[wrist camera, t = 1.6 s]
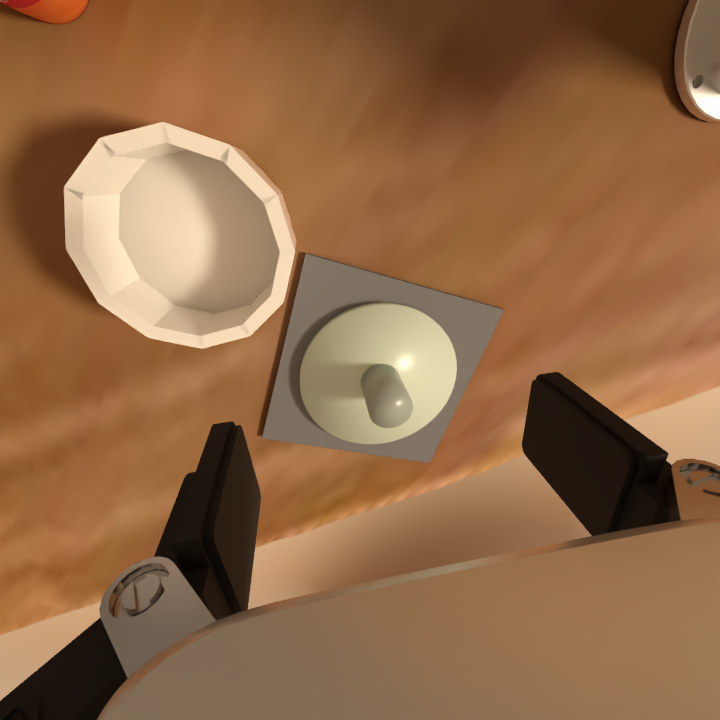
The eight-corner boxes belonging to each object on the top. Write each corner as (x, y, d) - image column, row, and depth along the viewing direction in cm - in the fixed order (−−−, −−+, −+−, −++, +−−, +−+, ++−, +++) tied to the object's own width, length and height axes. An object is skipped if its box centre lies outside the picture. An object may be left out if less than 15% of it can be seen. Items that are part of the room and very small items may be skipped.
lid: (478, 323, 36) (508, 348, 31) (420, 447, 42) (437, 486, 37) (322, 282, 32) (326, 303, 27) (284, 426, 38) (281, 466, 33)
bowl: (311, 174, 28) (312, 173, 23) (275, 333, 34) (270, 362, 29) (112, 106, 25) (60, 87, 20) (108, 296, 30) (67, 321, 25)
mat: (501, 308, 36) (504, 310, 36) (428, 460, 44) (429, 462, 44) (305, 252, 31) (305, 253, 31) (262, 435, 39) (261, 438, 38)
